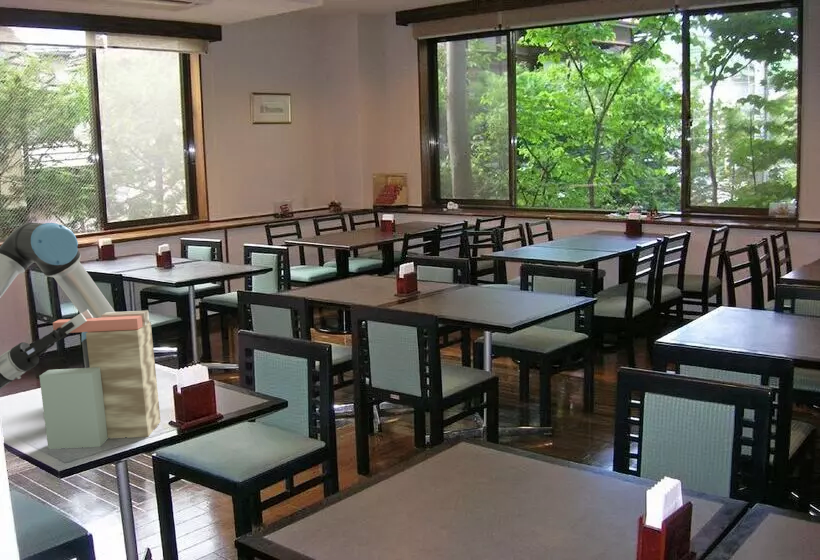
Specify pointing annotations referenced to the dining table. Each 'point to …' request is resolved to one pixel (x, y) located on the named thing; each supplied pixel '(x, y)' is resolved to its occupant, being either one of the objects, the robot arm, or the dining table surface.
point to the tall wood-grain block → (126, 377)
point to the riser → (73, 408)
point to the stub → (105, 324)
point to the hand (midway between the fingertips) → (86, 315)
